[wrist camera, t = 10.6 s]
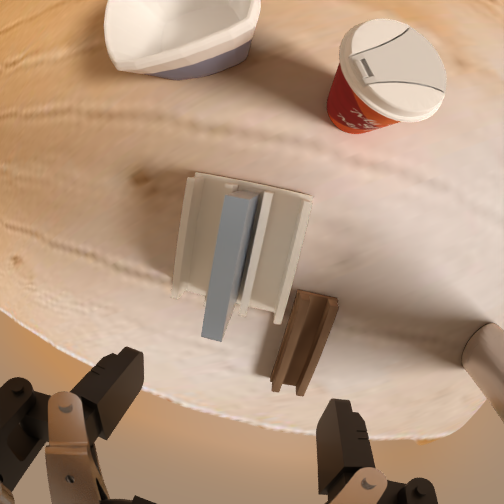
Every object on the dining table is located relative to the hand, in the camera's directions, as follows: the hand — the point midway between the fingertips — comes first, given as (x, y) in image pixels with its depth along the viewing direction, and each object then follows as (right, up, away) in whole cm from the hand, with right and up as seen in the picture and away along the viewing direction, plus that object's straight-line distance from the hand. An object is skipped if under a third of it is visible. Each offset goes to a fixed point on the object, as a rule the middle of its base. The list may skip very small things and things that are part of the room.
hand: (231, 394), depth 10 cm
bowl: (-5, +32, +16) cm, 36 cm away
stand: (+7, -6, +24) cm, 26 cm away
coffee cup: (+12, +22, +17) cm, 30 cm away
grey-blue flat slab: (0, +7, +21) cm, 22 cm away
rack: (0, +7, +22) cm, 23 cm away
